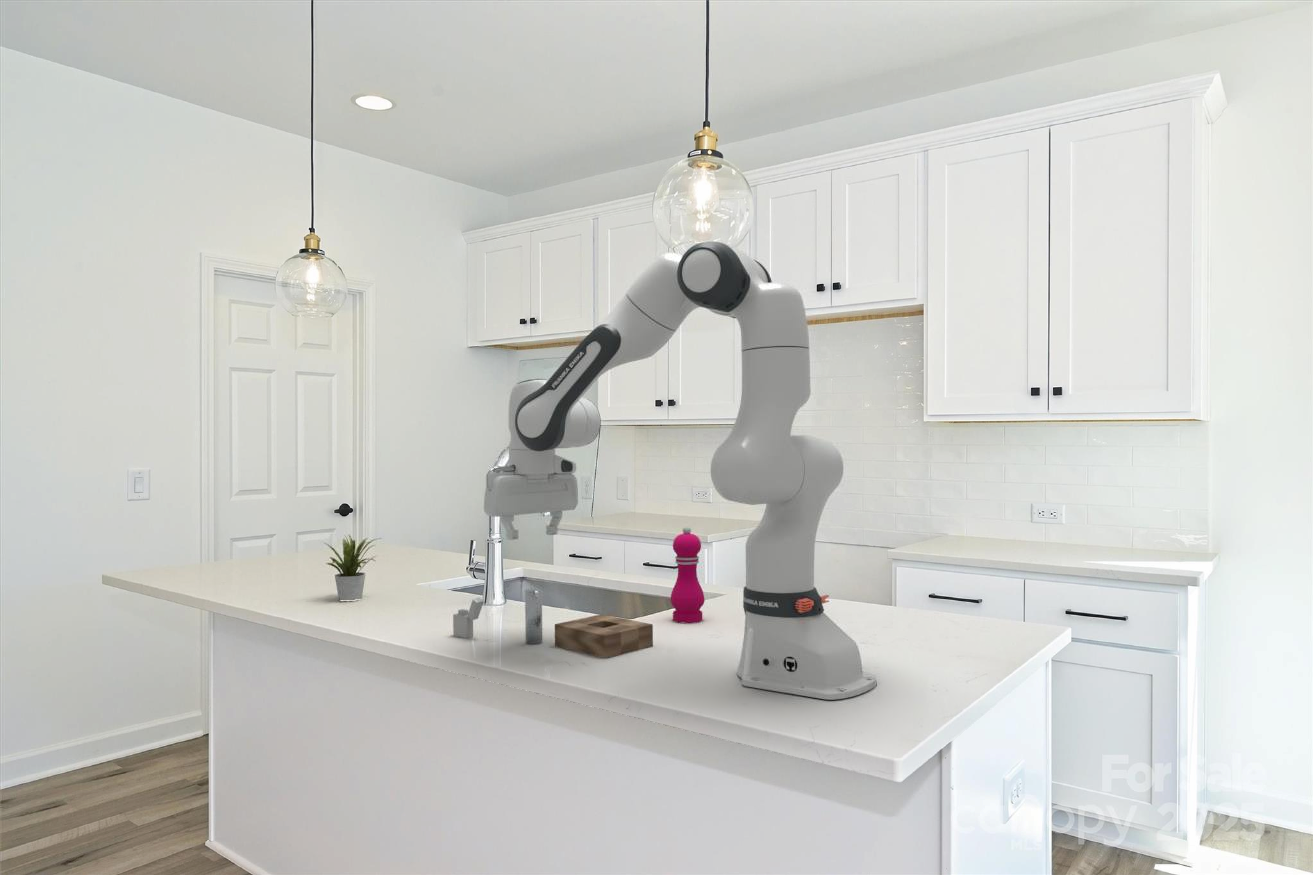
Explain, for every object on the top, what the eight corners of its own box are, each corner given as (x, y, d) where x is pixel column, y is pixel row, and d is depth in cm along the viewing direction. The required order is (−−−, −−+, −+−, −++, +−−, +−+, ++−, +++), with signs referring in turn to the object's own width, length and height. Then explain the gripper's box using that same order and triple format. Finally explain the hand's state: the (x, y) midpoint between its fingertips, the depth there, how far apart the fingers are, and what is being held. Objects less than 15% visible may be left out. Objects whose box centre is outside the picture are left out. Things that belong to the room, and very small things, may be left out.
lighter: (452, 636, 170) (452, 595, 170) (459, 634, 171) (459, 594, 171) (477, 640, 166) (477, 599, 166) (484, 638, 167) (484, 597, 167)
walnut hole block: (652, 645, 160) (652, 624, 160) (605, 658, 151) (605, 635, 151) (602, 634, 170) (601, 614, 170) (554, 645, 161) (554, 624, 161)
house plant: (398, 598, 211) (397, 531, 211) (351, 607, 199) (350, 537, 199) (359, 592, 218) (359, 528, 218) (312, 602, 207) (311, 534, 207)
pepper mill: (705, 616, 185) (704, 524, 185) (704, 624, 178) (703, 527, 178) (672, 616, 186) (671, 524, 186) (669, 623, 179) (668, 527, 179)
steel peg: (545, 642, 164) (545, 589, 164) (532, 645, 162) (532, 592, 162) (535, 639, 166) (534, 587, 166) (522, 642, 164) (521, 590, 164)
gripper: (496, 466, 154) (497, 543, 154) (582, 463, 169) (583, 533, 169) (476, 466, 158) (477, 540, 159) (562, 462, 173) (562, 531, 173)
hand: (532, 537), depth 164 cm, fingers open, 8 cm apart
